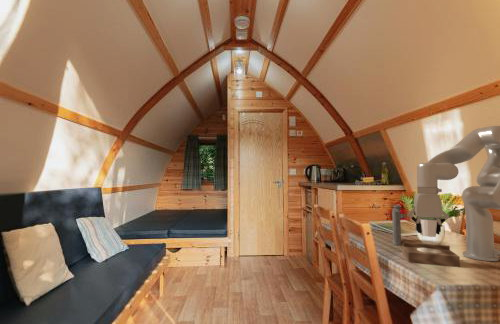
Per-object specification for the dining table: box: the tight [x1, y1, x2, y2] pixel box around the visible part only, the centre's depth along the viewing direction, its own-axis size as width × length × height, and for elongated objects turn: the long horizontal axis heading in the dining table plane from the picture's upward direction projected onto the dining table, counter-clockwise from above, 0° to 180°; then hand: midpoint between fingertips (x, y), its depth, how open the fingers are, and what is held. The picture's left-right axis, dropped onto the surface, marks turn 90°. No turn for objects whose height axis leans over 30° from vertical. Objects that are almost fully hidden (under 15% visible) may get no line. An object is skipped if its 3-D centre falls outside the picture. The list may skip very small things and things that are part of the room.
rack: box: [402, 241, 461, 268], centre depth 118 cm, size 18×12×6 cm, turn 71°
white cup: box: [419, 218, 437, 238], centre depth 119 cm, size 7×7×7 cm
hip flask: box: [391, 205, 402, 246], centre depth 152 cm, size 16×4×20 cm, turn 152°
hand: (428, 232), depth 119 cm, fingers closed on white cup, 6 cm apart
